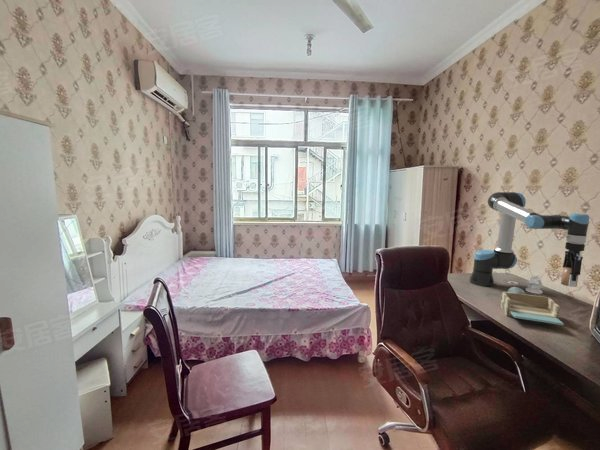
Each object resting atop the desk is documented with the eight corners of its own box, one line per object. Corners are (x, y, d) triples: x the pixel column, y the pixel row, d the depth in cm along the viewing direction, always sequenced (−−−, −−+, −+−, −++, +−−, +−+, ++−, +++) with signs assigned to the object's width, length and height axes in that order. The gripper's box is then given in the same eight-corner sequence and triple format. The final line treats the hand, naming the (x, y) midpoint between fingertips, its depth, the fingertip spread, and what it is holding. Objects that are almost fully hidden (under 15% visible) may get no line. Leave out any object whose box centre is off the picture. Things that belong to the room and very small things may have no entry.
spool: (530, 302, 168) (522, 285, 172) (511, 306, 173) (503, 289, 176) (529, 300, 179) (521, 284, 183) (511, 304, 184) (503, 288, 187)
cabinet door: (509, 310, 157) (514, 315, 149) (556, 317, 150) (564, 323, 142) (509, 312, 157) (514, 317, 149) (556, 319, 150) (563, 325, 142)
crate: (500, 306, 171) (502, 291, 170) (547, 312, 163) (549, 297, 161) (506, 316, 158) (508, 300, 157) (557, 324, 150) (560, 307, 149)
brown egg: (558, 282, 165) (561, 266, 163) (573, 283, 162) (576, 267, 161) (563, 285, 159) (566, 269, 158) (579, 287, 157) (581, 271, 155)
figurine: (522, 287, 203) (524, 272, 201) (539, 289, 199) (541, 274, 198) (527, 293, 192) (529, 277, 190) (545, 295, 188) (547, 279, 187)
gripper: (559, 238, 167) (553, 277, 171) (575, 245, 150) (568, 288, 153) (575, 240, 165) (569, 279, 168) (594, 247, 147) (586, 291, 150)
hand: (568, 284), depth 161 cm, fingers closed on brown egg, 6 cm apart
